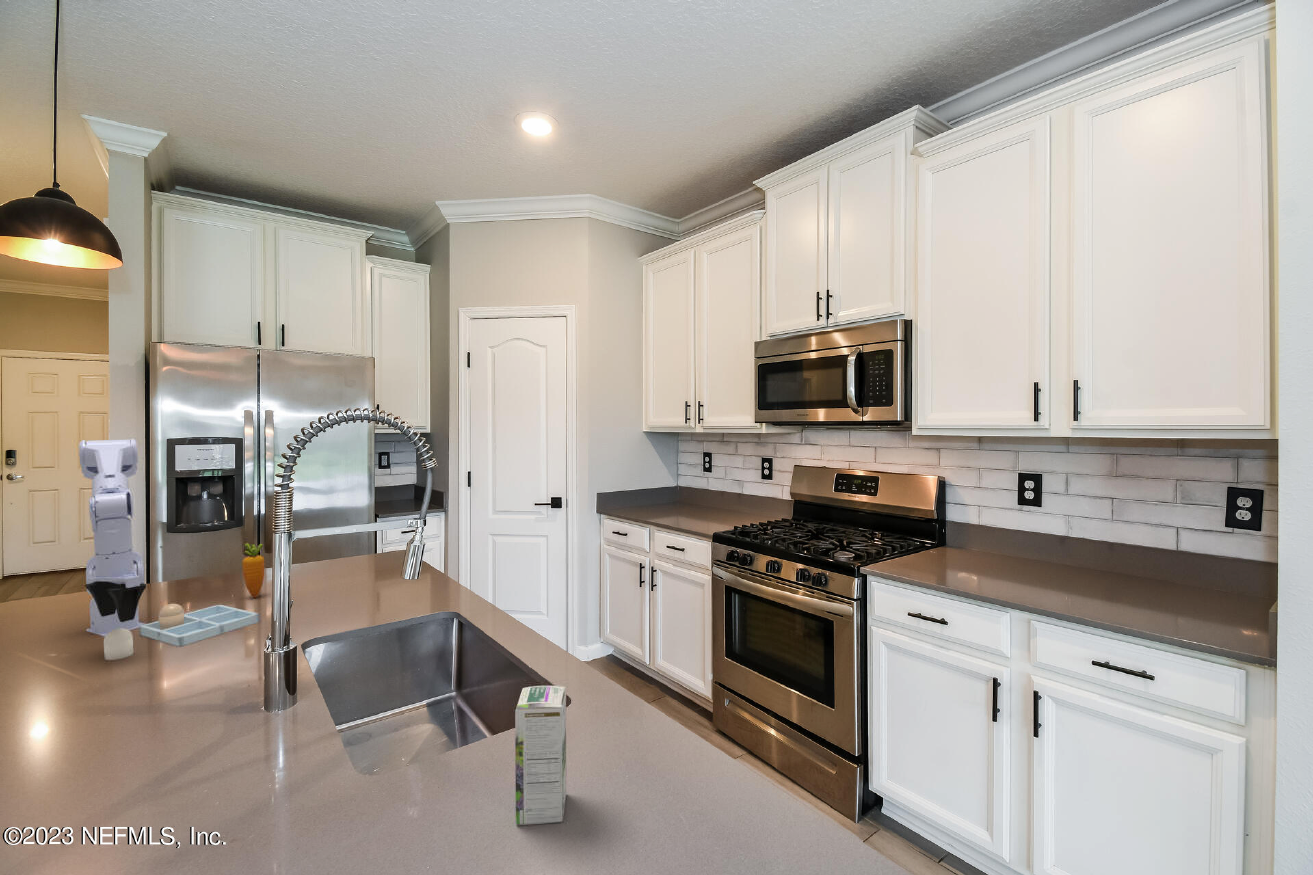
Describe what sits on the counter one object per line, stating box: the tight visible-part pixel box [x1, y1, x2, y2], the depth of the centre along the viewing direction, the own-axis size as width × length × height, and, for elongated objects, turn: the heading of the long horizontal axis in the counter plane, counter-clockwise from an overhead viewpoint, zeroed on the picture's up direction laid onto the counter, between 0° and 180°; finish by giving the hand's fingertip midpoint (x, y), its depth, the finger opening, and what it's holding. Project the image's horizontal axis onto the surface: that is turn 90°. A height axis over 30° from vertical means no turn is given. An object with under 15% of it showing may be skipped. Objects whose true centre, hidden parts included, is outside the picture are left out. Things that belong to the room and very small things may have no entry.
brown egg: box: [158, 603, 185, 630], centre depth 136 cm, size 4×4×6 cm
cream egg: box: [103, 628, 134, 661], centre depth 123 cm, size 4×4×6 cm
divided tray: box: [138, 604, 261, 648], centre depth 138 cm, size 16×16×2 cm
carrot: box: [241, 542, 265, 599], centre depth 162 cm, size 5×5×15 cm
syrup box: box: [514, 685, 567, 826], centre depth 75 cm, size 6×6×14 cm
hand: (117, 617), depth 122 cm, fingers open, 7 cm apart
